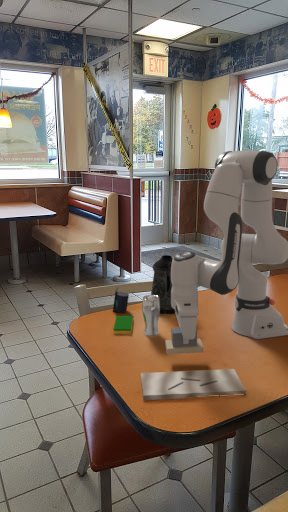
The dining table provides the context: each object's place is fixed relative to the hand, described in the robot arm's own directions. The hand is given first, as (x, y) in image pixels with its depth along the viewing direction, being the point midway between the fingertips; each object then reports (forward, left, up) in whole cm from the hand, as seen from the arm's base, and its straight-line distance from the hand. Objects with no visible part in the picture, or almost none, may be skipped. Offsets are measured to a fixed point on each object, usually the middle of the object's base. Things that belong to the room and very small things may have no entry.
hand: (184, 339), depth 130 cm
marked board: (0, +15, -8) cm, 17 cm away
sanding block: (0, 0, -4) cm, 4 cm away
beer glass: (+9, -23, -9) cm, 26 cm away
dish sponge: (+20, -30, -9) cm, 37 cm away
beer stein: (-1, -48, -9) cm, 49 cm away
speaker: (+21, -48, -9) cm, 53 cm away
